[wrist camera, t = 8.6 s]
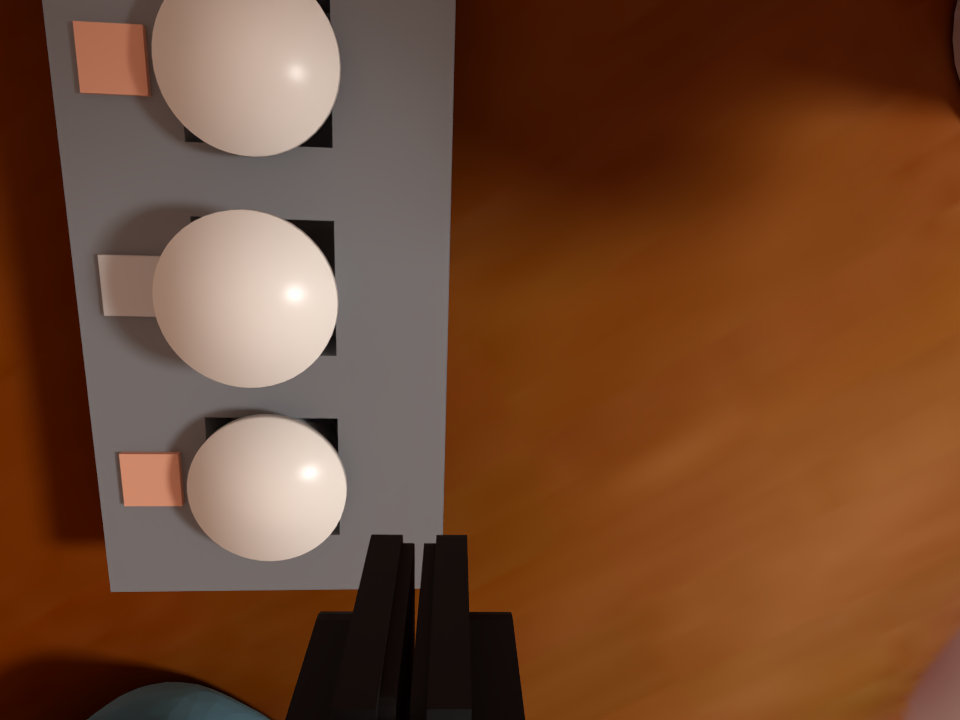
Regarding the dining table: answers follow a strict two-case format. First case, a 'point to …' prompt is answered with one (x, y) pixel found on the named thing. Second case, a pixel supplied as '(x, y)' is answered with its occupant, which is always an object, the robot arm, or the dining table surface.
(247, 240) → the button middle
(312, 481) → the button
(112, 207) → the button board
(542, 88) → the dining table surface
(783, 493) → the dining table surface
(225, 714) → the casserole dish
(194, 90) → the button
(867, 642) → the dining table surface
